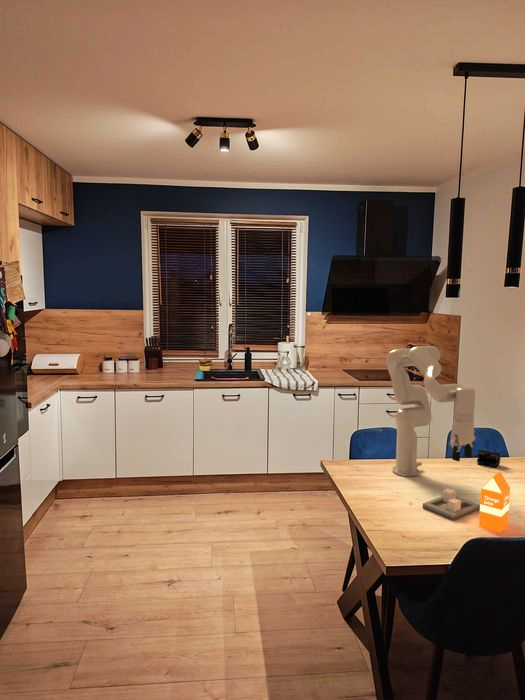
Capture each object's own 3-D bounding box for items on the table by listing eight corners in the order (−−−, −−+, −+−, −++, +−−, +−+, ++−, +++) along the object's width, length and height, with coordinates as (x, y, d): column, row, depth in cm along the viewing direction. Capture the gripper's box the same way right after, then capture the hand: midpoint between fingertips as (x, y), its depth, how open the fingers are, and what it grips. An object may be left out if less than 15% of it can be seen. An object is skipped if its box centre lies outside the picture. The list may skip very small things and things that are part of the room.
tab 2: (453, 508, 202) (454, 498, 201) (460, 511, 199) (461, 500, 199) (447, 511, 200) (448, 500, 199) (454, 513, 197) (454, 503, 197)
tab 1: (448, 498, 212) (449, 488, 211) (455, 501, 209) (455, 491, 209) (442, 501, 209) (443, 490, 209) (449, 503, 207) (449, 493, 206)
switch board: (449, 498, 215) (449, 493, 215) (480, 509, 204) (480, 504, 204) (422, 508, 205) (422, 503, 205) (453, 520, 194) (453, 515, 193)
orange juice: (508, 524, 191) (511, 473, 189) (500, 532, 184) (503, 479, 182) (486, 518, 196) (489, 468, 194) (478, 526, 189) (481, 474, 187)
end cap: (500, 465, 258) (501, 452, 258) (497, 468, 253) (497, 455, 252) (479, 461, 264) (480, 448, 263) (475, 464, 259) (476, 451, 258)
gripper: (468, 412, 218) (465, 452, 220) (443, 418, 208) (441, 460, 210) (484, 416, 212) (482, 457, 214) (459, 421, 202) (457, 465, 204)
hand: (461, 458), depth 212 cm, fingers open, 7 cm apart
